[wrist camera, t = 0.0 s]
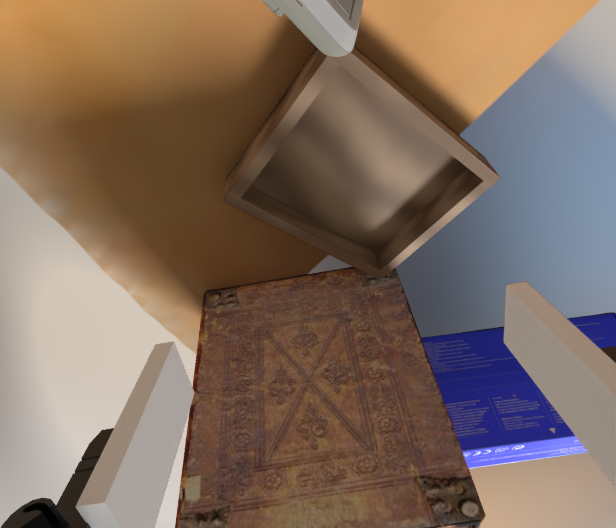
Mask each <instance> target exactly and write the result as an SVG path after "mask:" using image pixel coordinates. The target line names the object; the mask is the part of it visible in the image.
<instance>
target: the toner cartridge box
mask: <svg viewBox="0 0 616 528" xmlns="http://www.w3.org/2000/svg"><path fill="white" fill-rule="evenodd" d="M567 319H568V320H569V321H570V322H571V323H572V324H573V325H574V326H576V327H577V328H578V329H579V330H580V331H581V332H582V333H583V334H584V335H585V336H586V337H588V338H589V339H590V340H591V341H592V342H593V343H594V344H595V345H596V346H597V347H599V348H606V347H612V346H615V347H616V313H604V314H599V315H591V316H582V317H575V318H567ZM421 339H422V342H423V345H424V348H425V350H426V353H427V356H428V359H429V361H430V364H431V367H432V370H433V372H434V375H435V378H436V381H437V383H438V386H439V389H440V392H441V394H442V397H443V400H444V403H445V405H446V408H447V411H448V414H449V416H450V419H451V422H452V425H453V427H454V430H455V433H456V436H457V438H458V441H459V444H460V447H461V449H462V452H463V455H464V458H465V460H466V463H467V466H468V469H469V468H476V467H483V466H491V465H499V464H506V463H513V462H520V461H527V460H534V459H542V458H549V457H556V456H563V455H570V454H578V453H584V452H588V451H587V450H586V449H585V448H584V446H583V445H582V444H581V442H580V441H579V440H578V438H577V437H576V436H575V435H574V433H573V432H572V431H571V429H570V428H569V427H568V425H567V424H566V423H565V422H564V420H563V419H562V418H561V416H560V415H559V414H558V412H557V411H556V410H555V409H554V407H553V406H552V405H551V403H550V402H549V401H548V399H547V398H546V397H545V395H544V394H543V393H542V392H541V390H540V389H539V388H538V386H537V385H536V384H535V382H534V381H533V380H532V379H531V377H530V376H529V375H528V373H527V372H526V371H525V369H524V368H523V367H522V366H521V364H520V363H519V362H518V360H517V359H516V358H515V356H514V355H513V354H512V353H511V351H510V350H509V349H508V347H507V346H506V345H505V343H504V327H499V328H492V329H483V330H476V331H470V332H463V333H456V334H449V335H440V336H432V337H424V338H421Z"/></svg>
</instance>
